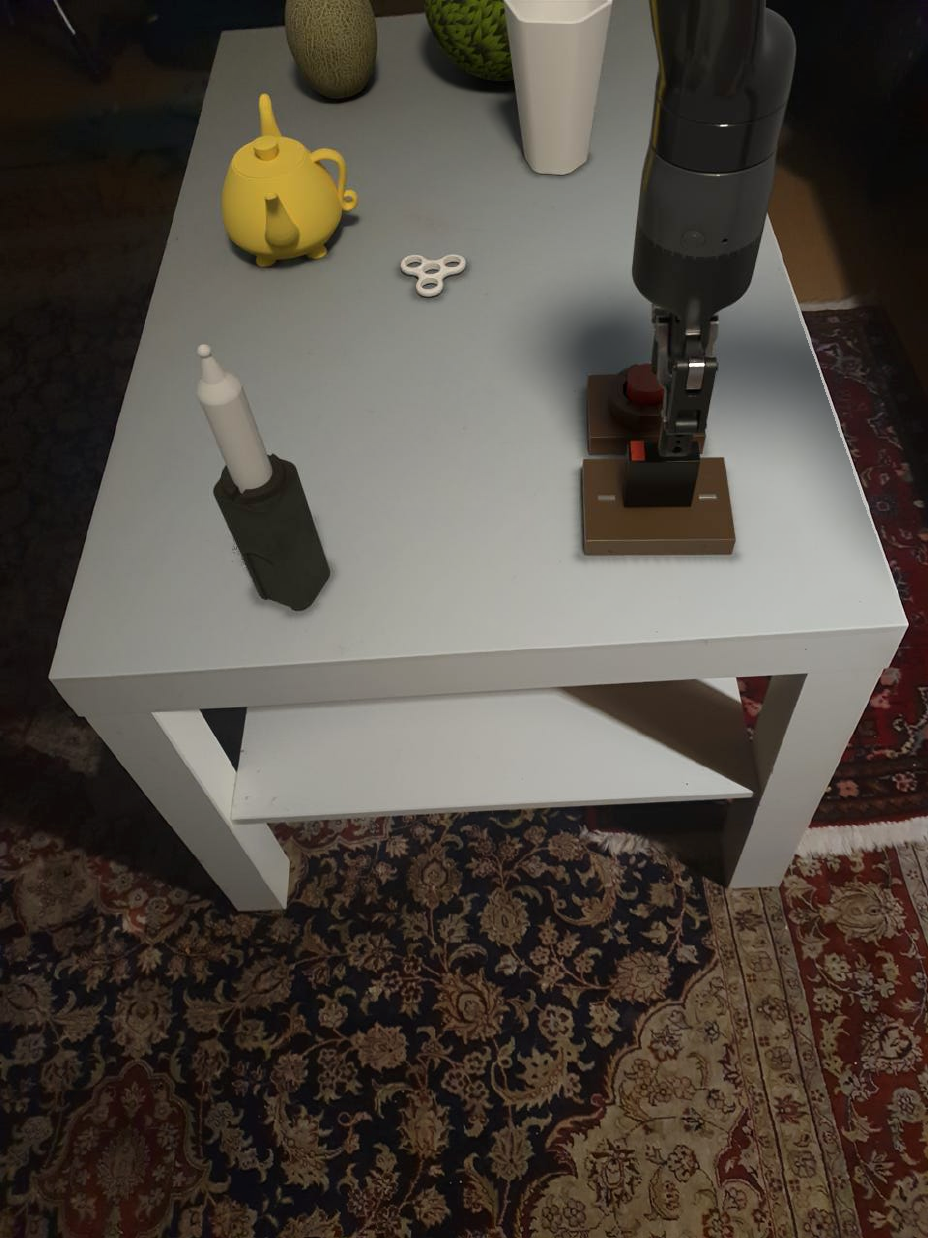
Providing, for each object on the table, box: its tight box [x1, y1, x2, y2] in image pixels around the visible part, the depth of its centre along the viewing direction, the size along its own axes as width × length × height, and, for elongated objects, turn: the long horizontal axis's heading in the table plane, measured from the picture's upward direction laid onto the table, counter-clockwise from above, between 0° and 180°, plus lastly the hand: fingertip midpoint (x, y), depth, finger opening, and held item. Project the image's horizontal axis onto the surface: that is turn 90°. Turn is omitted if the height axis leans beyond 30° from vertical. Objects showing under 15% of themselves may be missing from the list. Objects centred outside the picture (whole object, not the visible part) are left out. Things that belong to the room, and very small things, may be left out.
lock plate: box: [581, 456, 737, 556], centre depth 77 cm, size 12×9×2 cm
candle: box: [196, 343, 331, 612], centre depth 67 cm, size 5×5×25 cm
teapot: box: [221, 93, 359, 268], centre depth 98 cm, size 20×15×12 cm
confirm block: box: [586, 363, 707, 456], centre depth 83 cm, size 10×8×4 cm
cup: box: [504, 0, 614, 176], centre depth 101 cm, size 11×10×17 cm
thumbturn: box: [623, 441, 701, 507], centre depth 74 cm, size 6×2×6 cm, turn 87°
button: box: [626, 362, 664, 406], centre depth 80 cm, size 4×4×2 cm
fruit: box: [284, 0, 378, 99], centre depth 114 cm, size 11×11×15 cm
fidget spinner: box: [400, 253, 467, 298], centre depth 97 cm, size 7×6×1 cm
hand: (668, 410), depth 68 cm, fingers open, 8 cm apart
